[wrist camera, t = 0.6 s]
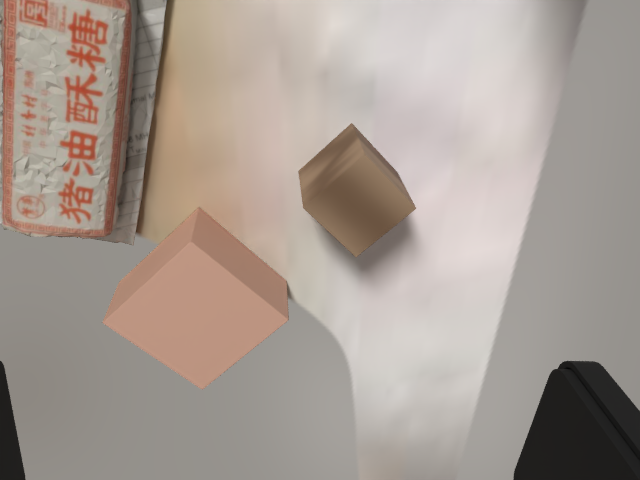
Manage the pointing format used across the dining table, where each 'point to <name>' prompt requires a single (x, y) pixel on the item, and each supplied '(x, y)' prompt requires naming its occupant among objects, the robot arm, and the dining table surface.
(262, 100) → the dining table surface
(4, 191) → the packaged product
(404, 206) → the walnut block
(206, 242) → the base block
